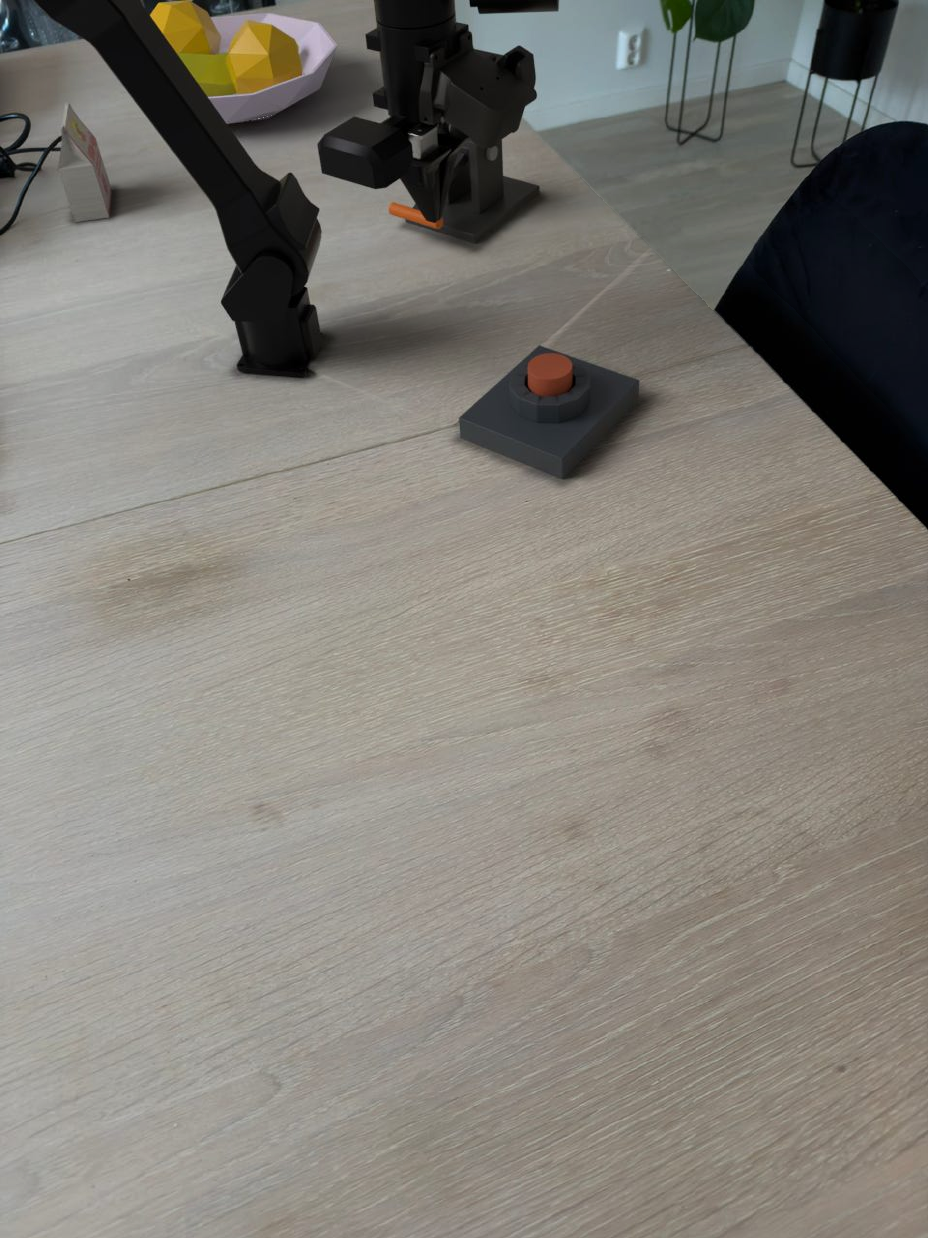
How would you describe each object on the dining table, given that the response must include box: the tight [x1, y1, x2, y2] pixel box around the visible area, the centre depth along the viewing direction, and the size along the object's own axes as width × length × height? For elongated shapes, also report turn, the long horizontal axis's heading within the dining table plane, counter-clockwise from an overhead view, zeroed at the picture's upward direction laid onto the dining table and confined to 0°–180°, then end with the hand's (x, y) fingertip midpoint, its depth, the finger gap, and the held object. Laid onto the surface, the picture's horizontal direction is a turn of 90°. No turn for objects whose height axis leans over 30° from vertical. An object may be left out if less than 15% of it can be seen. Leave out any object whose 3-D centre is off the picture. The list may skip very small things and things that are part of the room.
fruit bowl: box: [149, 0, 338, 125], centre depth 135 cm, size 28×27×11 cm
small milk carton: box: [57, 101, 113, 223], centre depth 119 cm, size 4×7×10 cm, turn 10°
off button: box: [528, 353, 573, 396], centre depth 88 cm, size 4×4×2 cm
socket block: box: [458, 344, 640, 480], centre depth 90 cm, size 12×10×4 cm
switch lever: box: [388, 139, 471, 229], centre depth 110 cm, size 12×6×2 cm, turn 144°
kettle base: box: [404, 139, 541, 245], centre depth 113 cm, size 12×9×9 cm
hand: (433, 220), depth 89 cm, fingers closed
